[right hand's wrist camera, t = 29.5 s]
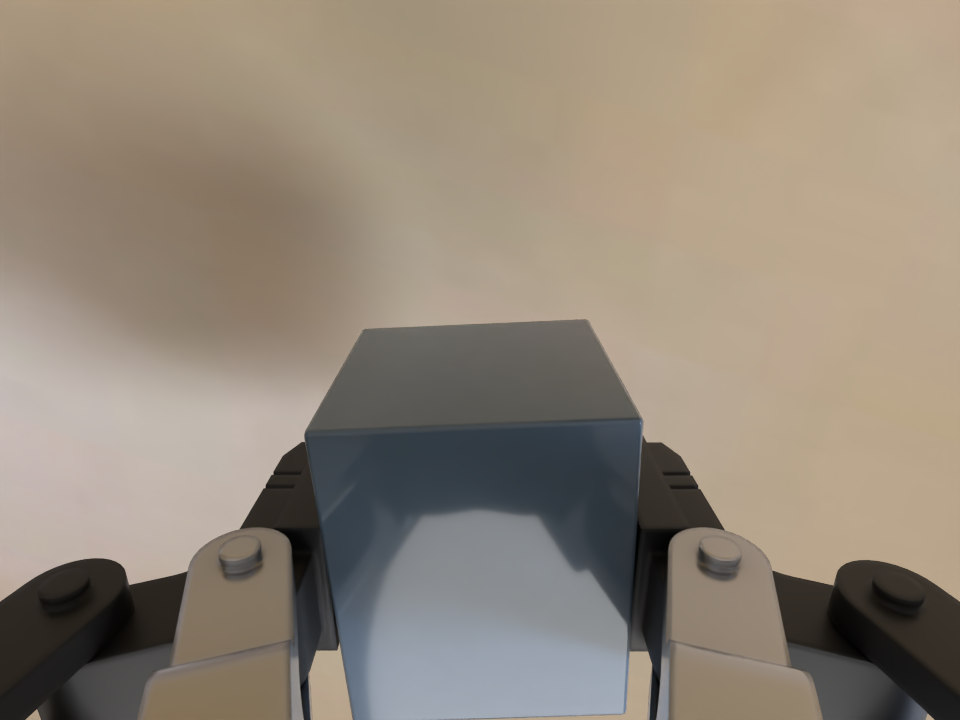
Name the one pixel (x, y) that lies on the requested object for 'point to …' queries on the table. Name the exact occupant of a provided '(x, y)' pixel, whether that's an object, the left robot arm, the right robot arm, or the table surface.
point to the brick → (480, 521)
